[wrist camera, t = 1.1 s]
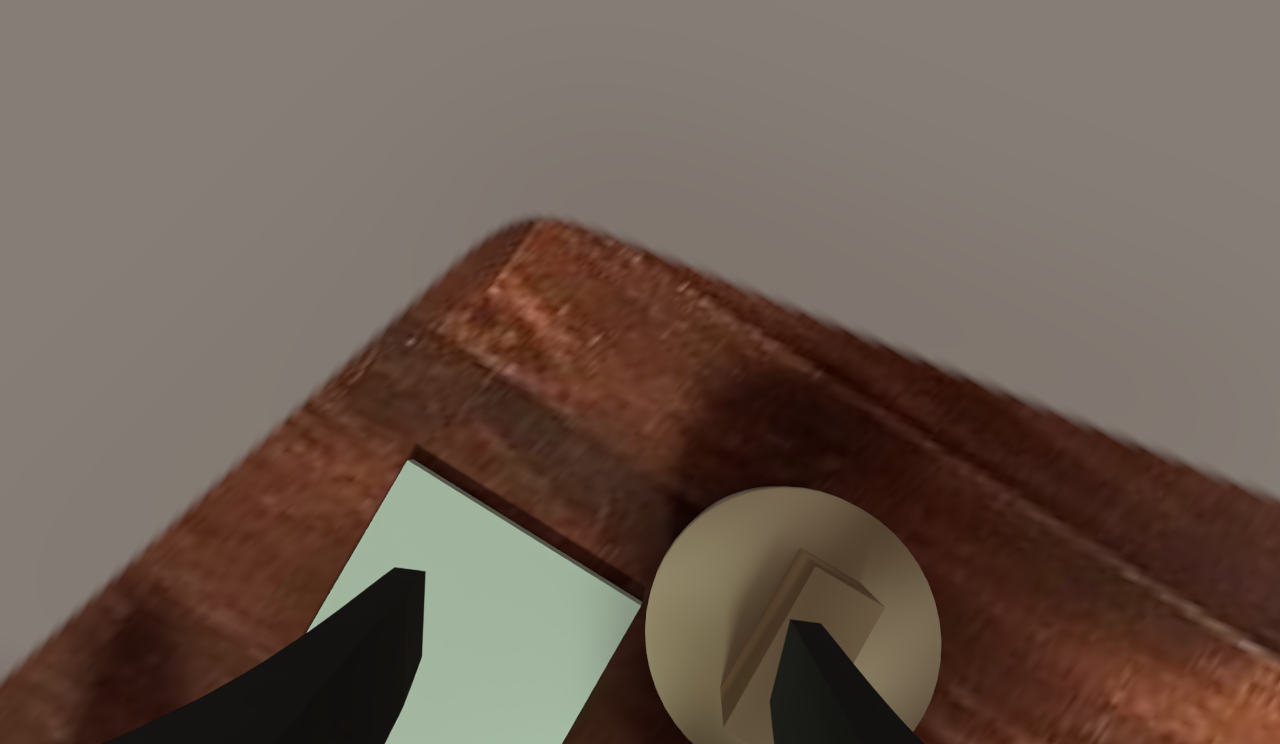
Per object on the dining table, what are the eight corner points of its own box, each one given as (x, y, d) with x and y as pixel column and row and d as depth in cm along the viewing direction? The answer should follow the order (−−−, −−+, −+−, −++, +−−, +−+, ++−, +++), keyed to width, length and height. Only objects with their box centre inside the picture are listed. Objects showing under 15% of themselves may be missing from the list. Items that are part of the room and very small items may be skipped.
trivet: (642, 601, 24) (641, 605, 23) (501, 846, 23) (497, 856, 23) (413, 459, 25) (407, 460, 24) (277, 691, 24) (268, 697, 24)
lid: (983, 580, 20) (1040, 612, 16) (842, 831, 20) (872, 913, 16) (733, 435, 21) (740, 438, 17) (596, 673, 21) (577, 721, 17)
